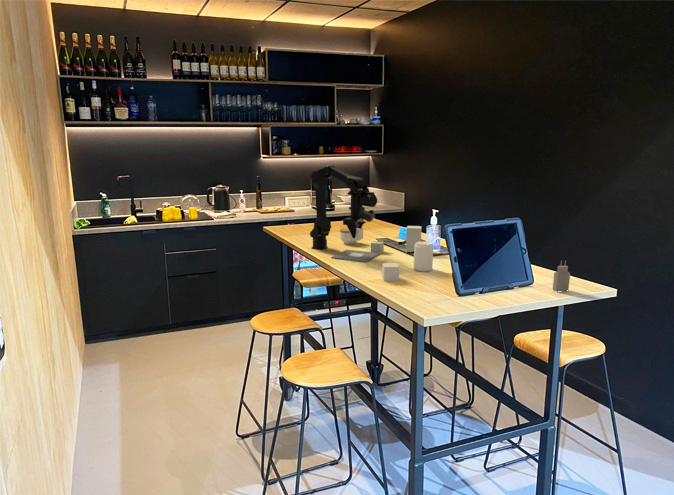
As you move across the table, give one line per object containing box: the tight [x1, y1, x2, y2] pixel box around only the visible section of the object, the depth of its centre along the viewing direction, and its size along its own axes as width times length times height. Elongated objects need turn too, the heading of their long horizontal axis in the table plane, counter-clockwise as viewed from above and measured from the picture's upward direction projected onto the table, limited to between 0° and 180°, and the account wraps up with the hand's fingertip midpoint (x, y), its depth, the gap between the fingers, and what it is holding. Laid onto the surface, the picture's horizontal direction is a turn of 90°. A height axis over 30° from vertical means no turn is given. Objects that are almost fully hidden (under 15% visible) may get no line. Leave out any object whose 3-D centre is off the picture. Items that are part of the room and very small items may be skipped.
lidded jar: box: [339, 227, 358, 245], centre depth 272 cm, size 11×11×9 cm
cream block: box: [349, 227, 364, 242], centre depth 242 cm, size 5×5×5 cm
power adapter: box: [552, 259, 571, 292], centre depth 190 cm, size 3×5×12 cm, turn 106°
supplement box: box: [405, 225, 423, 253], centre depth 253 cm, size 7×7×13 cm
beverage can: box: [413, 240, 434, 272], centre depth 219 cm, size 8×8×12 cm
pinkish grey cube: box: [381, 262, 400, 282], centre depth 205 cm, size 6×6×6 cm
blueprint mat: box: [330, 249, 381, 263], centre depth 244 cm, size 18×18×1 cm
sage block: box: [370, 240, 385, 254], centre depth 252 cm, size 5×5×5 cm
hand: (356, 237), depth 242 cm, fingers closed on cream block, 5 cm apart
